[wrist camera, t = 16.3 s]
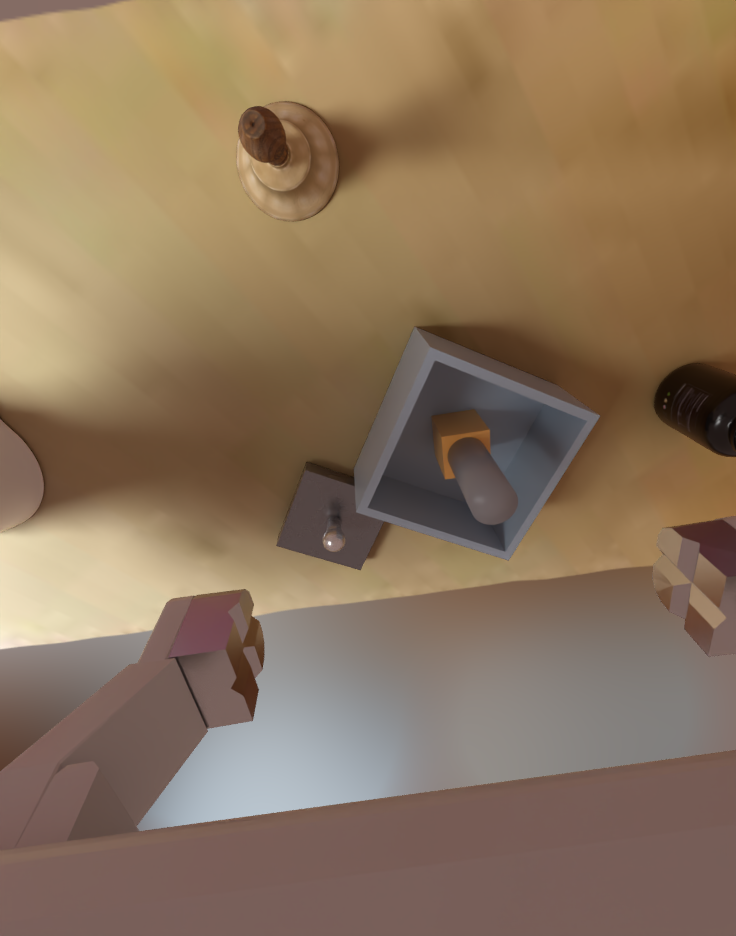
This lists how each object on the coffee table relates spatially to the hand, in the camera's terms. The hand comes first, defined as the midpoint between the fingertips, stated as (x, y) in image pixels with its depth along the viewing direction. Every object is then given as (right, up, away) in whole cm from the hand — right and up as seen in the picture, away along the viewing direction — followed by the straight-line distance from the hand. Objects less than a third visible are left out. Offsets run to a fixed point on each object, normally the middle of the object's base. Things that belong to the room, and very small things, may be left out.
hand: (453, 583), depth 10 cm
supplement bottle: (+31, +10, +41) cm, 52 cm away
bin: (+7, +7, +41) cm, 42 cm away
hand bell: (-8, +27, +30) cm, 41 cm away
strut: (+7, +6, +40) cm, 41 cm away
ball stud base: (-5, -3, +45) cm, 45 cm away
